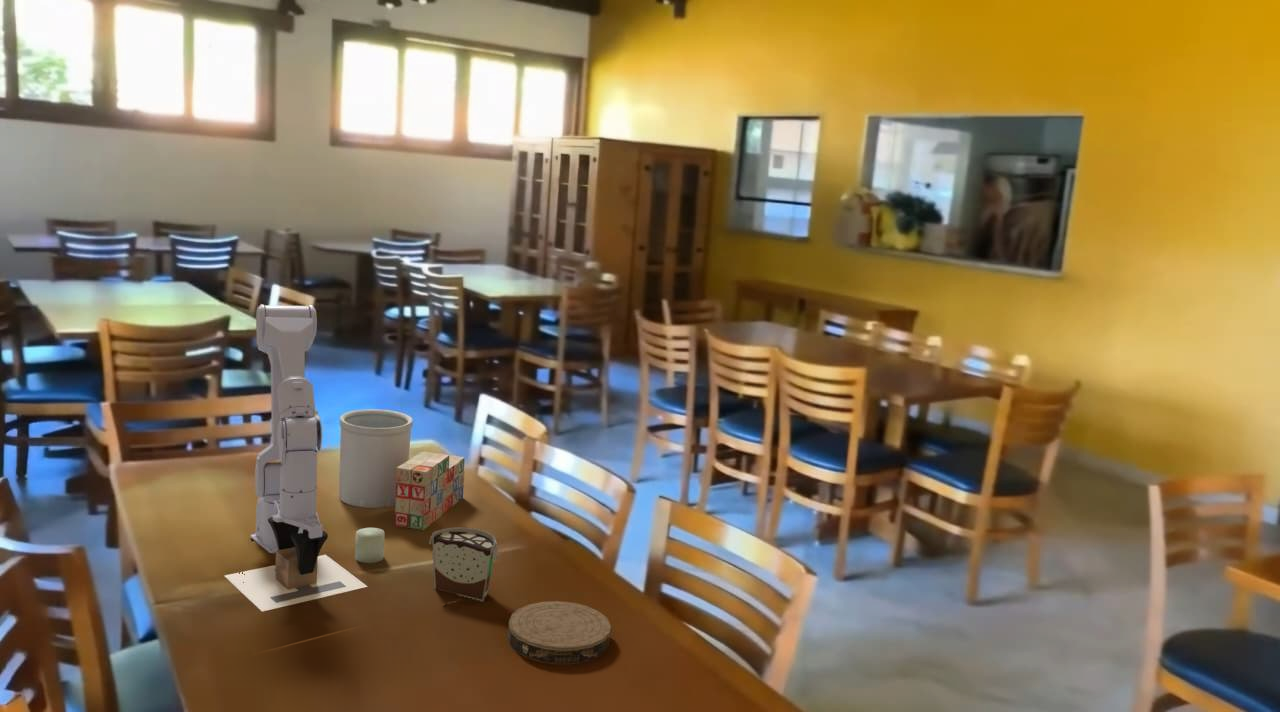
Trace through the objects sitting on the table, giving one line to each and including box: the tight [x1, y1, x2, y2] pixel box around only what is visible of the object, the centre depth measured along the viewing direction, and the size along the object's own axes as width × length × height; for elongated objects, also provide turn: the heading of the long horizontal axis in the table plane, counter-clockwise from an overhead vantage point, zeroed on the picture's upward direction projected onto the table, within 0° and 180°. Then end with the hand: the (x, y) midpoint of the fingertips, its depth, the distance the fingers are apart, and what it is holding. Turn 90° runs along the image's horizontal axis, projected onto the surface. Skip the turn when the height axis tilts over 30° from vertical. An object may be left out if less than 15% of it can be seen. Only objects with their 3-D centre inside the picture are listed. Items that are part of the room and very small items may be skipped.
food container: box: [428, 527, 499, 602], centre depth 170 cm, size 12×6×10 cm, turn 71°
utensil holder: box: [338, 408, 414, 509], centre depth 209 cm, size 15×15×18 cm
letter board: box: [224, 554, 368, 613], centre depth 167 cm, size 16×18×1 cm
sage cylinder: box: [354, 527, 385, 564], centre depth 179 cm, size 5×5×5 cm
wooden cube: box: [275, 547, 318, 589], centre depth 167 cm, size 5×5×5 cm
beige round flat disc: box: [507, 600, 612, 665], centre depth 155 cm, size 16×16×3 cm
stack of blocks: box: [393, 451, 466, 531], centre depth 205 cm, size 21×6×12 cm, turn 169°
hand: (296, 565), depth 167 cm, fingers open, 7 cm apart
